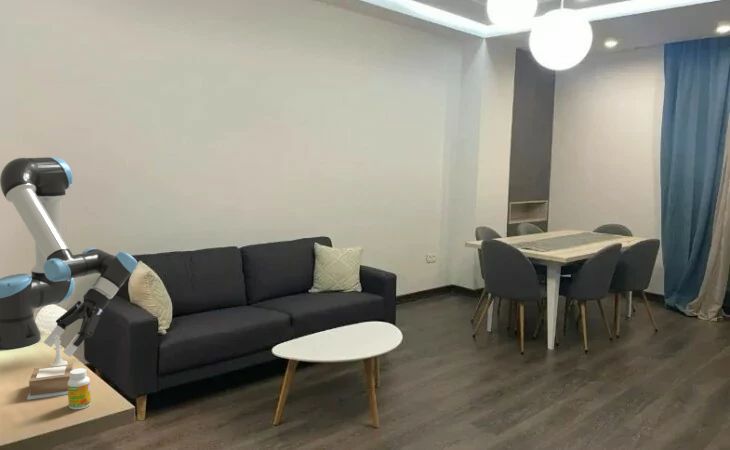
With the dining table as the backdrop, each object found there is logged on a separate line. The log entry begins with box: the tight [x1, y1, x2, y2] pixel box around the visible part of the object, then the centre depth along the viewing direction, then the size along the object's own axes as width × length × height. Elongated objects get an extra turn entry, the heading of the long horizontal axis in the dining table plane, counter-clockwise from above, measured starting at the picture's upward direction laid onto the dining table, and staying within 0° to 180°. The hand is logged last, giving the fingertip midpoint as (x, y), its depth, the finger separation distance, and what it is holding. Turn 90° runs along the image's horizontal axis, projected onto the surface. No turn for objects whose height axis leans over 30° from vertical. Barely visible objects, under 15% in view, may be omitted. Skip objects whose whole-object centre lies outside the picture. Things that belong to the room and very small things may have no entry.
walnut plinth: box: [28, 363, 74, 396], centre depth 167 cm, size 10×10×5 cm
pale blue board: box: [27, 368, 75, 401], centre depth 170 cm, size 18×11×1 cm, turn 23°
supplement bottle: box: [67, 367, 92, 410], centre depth 156 cm, size 5×5×10 cm
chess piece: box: [49, 335, 69, 367], centre depth 184 cm, size 5×5×10 cm
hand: (56, 349), depth 183 cm, fingers open, 13 cm apart
